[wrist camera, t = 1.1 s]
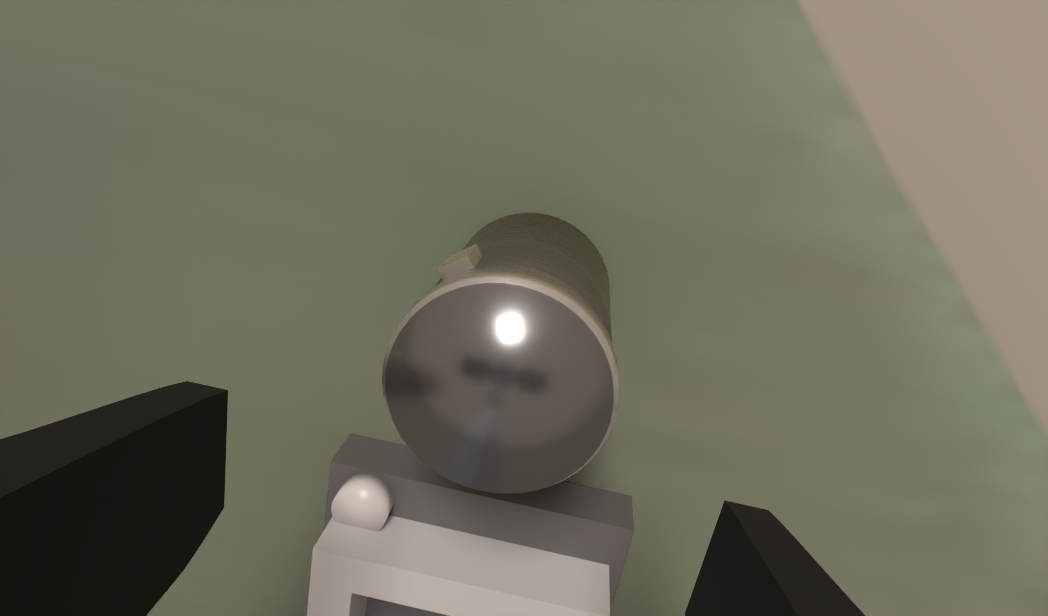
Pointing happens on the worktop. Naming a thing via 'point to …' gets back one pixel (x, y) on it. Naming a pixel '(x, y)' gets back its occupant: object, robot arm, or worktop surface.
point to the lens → (508, 359)
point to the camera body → (460, 543)
